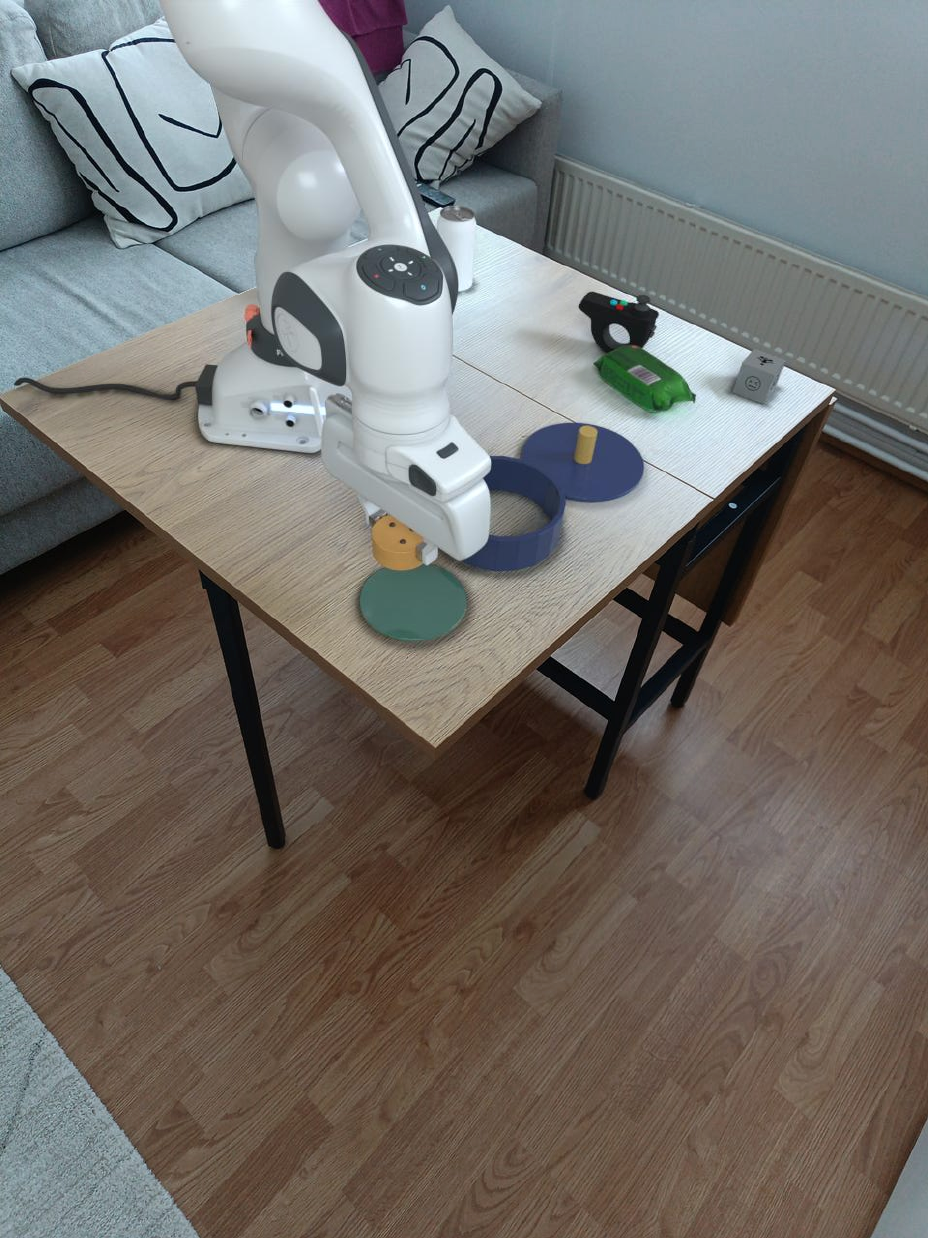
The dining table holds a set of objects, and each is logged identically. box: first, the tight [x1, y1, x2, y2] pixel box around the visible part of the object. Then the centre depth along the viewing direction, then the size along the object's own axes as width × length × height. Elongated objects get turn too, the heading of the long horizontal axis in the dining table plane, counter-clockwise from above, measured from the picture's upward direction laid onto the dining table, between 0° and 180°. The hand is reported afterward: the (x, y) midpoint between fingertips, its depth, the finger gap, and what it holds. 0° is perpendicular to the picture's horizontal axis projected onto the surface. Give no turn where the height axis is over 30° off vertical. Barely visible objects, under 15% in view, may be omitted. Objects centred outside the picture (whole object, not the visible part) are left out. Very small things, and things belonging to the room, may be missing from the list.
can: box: [436, 205, 477, 294], centre depth 144 cm, size 6×6×12 cm
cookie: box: [371, 514, 424, 571], centre depth 91 cm, size 6×6×3 cm
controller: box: [577, 291, 660, 354], centre depth 134 cm, size 4×12×10 cm, turn 61°
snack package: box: [593, 345, 697, 414], centre depth 128 cm, size 7×16×5 cm, turn 35°
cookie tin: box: [460, 455, 567, 572], centre depth 106 cm, size 15×15×6 cm
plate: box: [359, 563, 468, 643], centre depth 98 cm, size 12×12×1 cm
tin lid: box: [520, 422, 645, 503], centre depth 115 cm, size 16×16×6 cm
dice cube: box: [731, 348, 787, 405], centre depth 130 cm, size 5×5×5 cm
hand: (401, 542), depth 91 cm, fingers closed on cookie, 6 cm apart
